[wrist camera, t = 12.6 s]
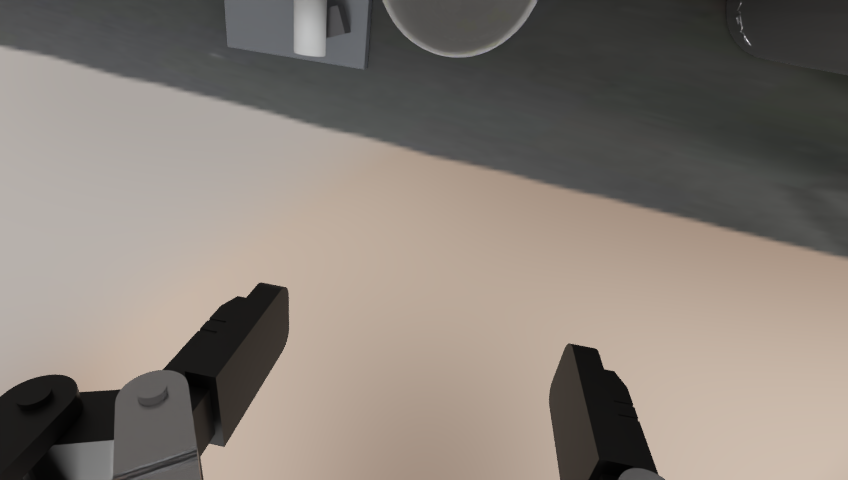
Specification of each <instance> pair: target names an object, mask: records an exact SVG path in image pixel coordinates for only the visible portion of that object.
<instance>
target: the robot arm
mask: <svg viewBox="0 0 848 480" xmlns="http://www.w3.org/2000/svg"><path fill="white" fill-rule="evenodd" d="M726 19H727V23H728V28H729V31H730V33H731V35H732V37H733V39H734V41H735V42H736V43H737V44H738V45H739V46H740V47H741V48H742V49H743V50H744V51H746V52H747V53H749V54H751V55H753V56H755V57H759V58H762V59H766V60H771V61H777V62H782V63H788V64H792V65H797V66H802V67H807V68H813V69H818V70H824V71H829V72H834V73H840V74H845V75H848V0H727V3H726ZM288 333H289V297H288V290H287V288H286V287H281V286H276V285H271V284H265V283H259V284H258V285H257V286H256V287H255V288H254V289H253V290H252V292H251V293H250V294H249V295H248V296H247V298H244V297H238V296H237V297H236V298H234V299H232V300H230V301H228V302H227V303H225V304H223V305H221V306H220V307H219V308H218V310H217V311H216V312H215V313H214V314H213V315H212V316H211V317H210V320H209V321H207V322H206V323H205V324H204V325H203V326H202V327H201V329H200V331H198V332H197V333H196V334H195V335H194V336H193V337H192V338H191V339H190V340H189V342H188V343H187V344H186V345H185V346H184V347H183V348H182V349H181V350H180V351H179V353H178V354H177V355H176V356H175V357H174V358H173V359H172V360H171V362H169V364H168V365H167V366H166V367H165V368H164V369H163V370H158V371H152V372H149V373H146V374H143V375H140V376H138V377H136V378H135V379H133V380H132V381H130V382H129V383H127V384H126V385H125V386H124V387H123V388H122V389H121V390H109V391H94V392H79V390H78V387H77V384H76V382H75V381H74V380H73V379H72V378H70V377H67V376H64V375H46V376H41V377H36V378H34V379H30V380H27V381H25V382H23V383H21V384H18V385H17V386H15V387H13V388H12V389H10V390H8V391H7V392H6V393H4V394H3V395H2V396H1V397H0V480H203V474H202V466H201V459H200V456H201V455H202V453H203V452H204V450H205V449H206V447H207V446H208V444H214V445H218V446H223V447H225V445H226V443H227V442H228V440H229V438H230V437H231V435H232V433H233V432H234V430H235V428H236V427H237V425H238V424H239V422H240V420H241V418H242V417H243V415H244V414H245V412H246V410H247V409H248V407H249V405H250V404H251V402H252V400H253V399H254V397H255V396H256V394H257V392H258V391H259V389H260V387H261V386H262V384H263V382H264V381H265V379H266V377H267V376H268V374H269V372H270V370H271V369H272V368H273V366H274V364H275V363H276V361H277V359H278V358H279V356H280V354H281V353H282V351H283V349H284V347H285V345H286V342H287V338H288ZM549 406H550V413H551V420H552V425H553V432H554V440H555V447H556V453H557V460H558V467H559V474H560V480H665V479H664V478H662V477H661V476H659V475H658V472H657V470H656V467H655V464H654V461H653V459H652V456H651V453H650V450H649V447H648V445H647V442H646V439H645V436H644V433H643V431H642V428H641V425H640V422H638V417H637V414H636V411H635V408H634V407H633V403H632V400H631V397H630V395H629V391H628V389H627V387H626V386H625V384H624V383H623V382H622V381H621V379H620V378H619V377H618V376H617V374H616V373H615V372H614V371H609V370H604V368H603V365H602V362H601V358H600V355H599V353H598V350H597V349H595V348H590V347H585V346H579V345H574V344H568V345H567V346H566V347H565V350H564V352H563V355H562V357H561V360H560V363H559V365H558V368H557V370H556V373H555V376H554V378H553V381H552V384H551V388H550V396H549Z"/></svg>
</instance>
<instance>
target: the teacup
mask: <svg viewBox="0 0 848 480" xmlns="http://www.w3.org/2000/svg"><path fill="white" fill-rule="evenodd" d="M383 3H384V5H385V7H386V9H387V11H388V13H389V15H390V17H391V18H392V20H393V22H394V23H395V25H396V26H397V27H398V29H399V30H400V31H401V32H402V33H403V34H404V35H405V36H406V37H407V38H408V39H409V40H411V41H412V42H414V43H415V44H416V45H418V46H419V47H421V48H423V49H425V50H427V51H430V52H432V53H434V54H438V55H442V56H446V57H454V58H459V57H471V56H474V55H479V54H482V53H485V52H487V51H490V50H492V49H493V48H495V47H497V46H499V45H500V44H502V43H503V42H505V41H506V40H507V39H509V38H510V37H511V36H512V35H513V34H514V33H515V32H516V31H517V30H518V29H519V28H520V27H521V26H522V25H523V24H524V22H525V21H526V19H527V18H528V16H529V15H530V13H531V12H532V10H533V8H534V7H535V5H536V3H537V0H383Z"/></svg>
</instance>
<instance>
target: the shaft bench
mask: <svg viewBox="0 0 848 480" xmlns="http://www.w3.org/2000/svg"><path fill="white" fill-rule="evenodd" d="M224 2H225V16H226V30H227V45H228V47H232V48H238V49H244V50H250V51H256V52H262V53H268V54H274V55H280V56H286V57H292V58H298V59H304V60H311V61H317V62H323V63H329V64H335V65H341V66H347V67H353V68H359V69H366V68H368V54H369V40H370V25H371V11H372V0H224Z"/></svg>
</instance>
